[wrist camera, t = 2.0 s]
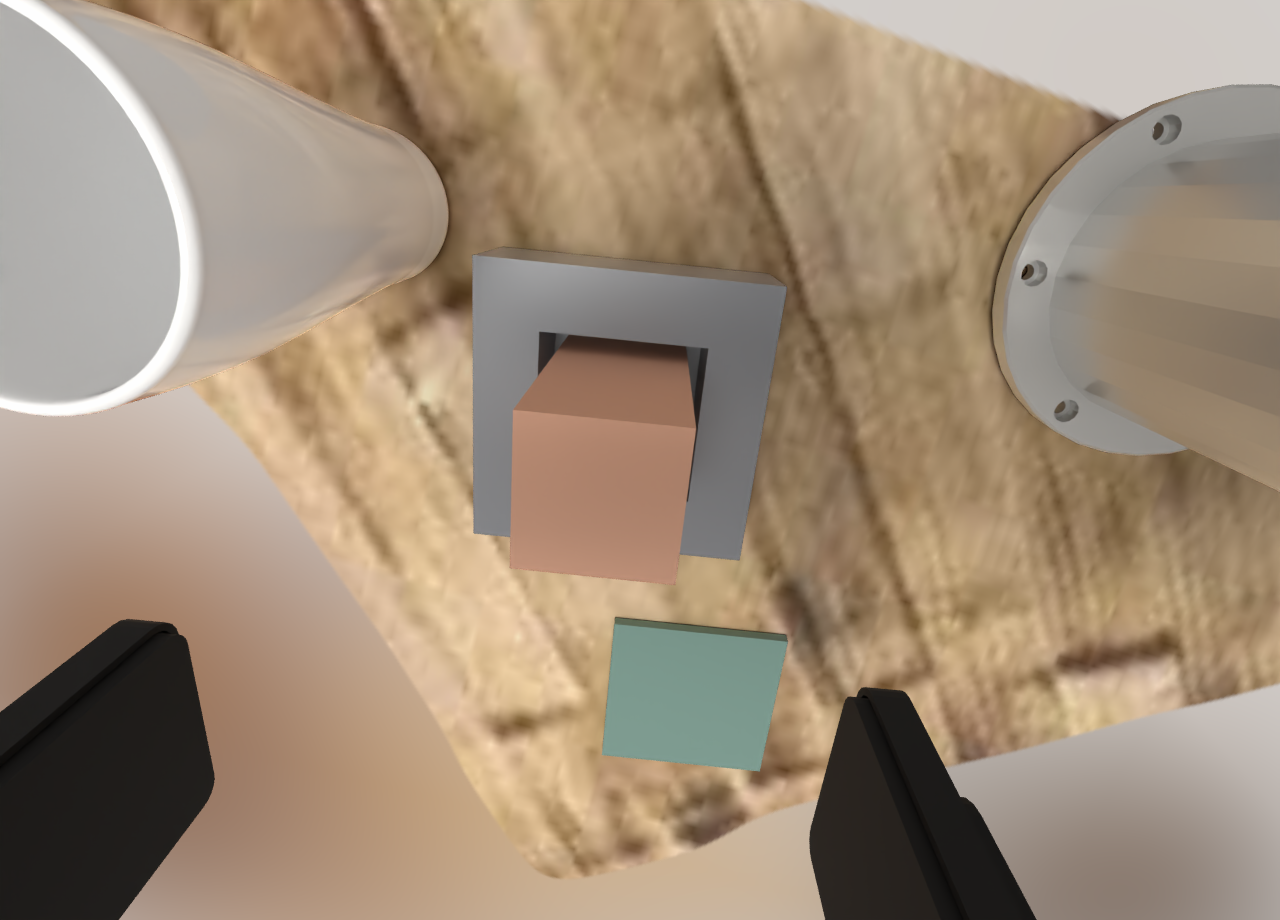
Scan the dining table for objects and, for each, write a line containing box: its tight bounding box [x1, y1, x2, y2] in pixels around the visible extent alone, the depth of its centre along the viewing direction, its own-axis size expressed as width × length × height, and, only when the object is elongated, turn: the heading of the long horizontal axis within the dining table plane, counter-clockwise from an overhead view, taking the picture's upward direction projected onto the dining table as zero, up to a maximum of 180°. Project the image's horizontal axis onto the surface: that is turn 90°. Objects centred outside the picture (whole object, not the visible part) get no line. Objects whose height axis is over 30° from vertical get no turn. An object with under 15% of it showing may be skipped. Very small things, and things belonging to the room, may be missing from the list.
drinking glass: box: [0, 0, 449, 417], centre depth 17 cm, size 7×7×15 cm
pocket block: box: [472, 247, 787, 560], centre depth 24 cm, size 10×10×4 cm
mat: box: [602, 618, 788, 771], centre depth 31 cm, size 8×8×1 cm
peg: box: [510, 334, 696, 585], centre depth 21 cm, size 4×4×10 cm
